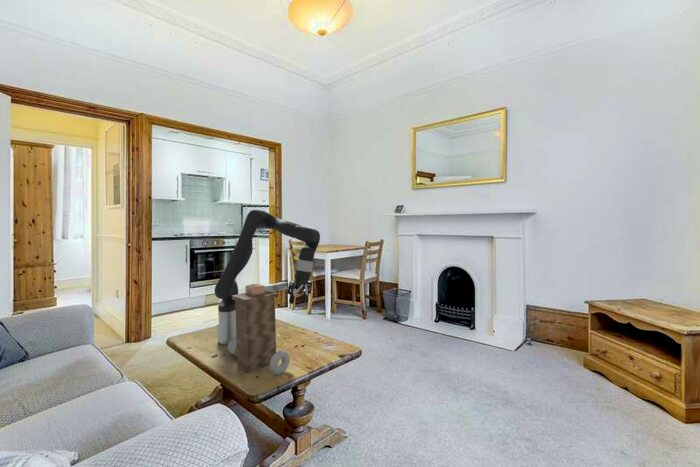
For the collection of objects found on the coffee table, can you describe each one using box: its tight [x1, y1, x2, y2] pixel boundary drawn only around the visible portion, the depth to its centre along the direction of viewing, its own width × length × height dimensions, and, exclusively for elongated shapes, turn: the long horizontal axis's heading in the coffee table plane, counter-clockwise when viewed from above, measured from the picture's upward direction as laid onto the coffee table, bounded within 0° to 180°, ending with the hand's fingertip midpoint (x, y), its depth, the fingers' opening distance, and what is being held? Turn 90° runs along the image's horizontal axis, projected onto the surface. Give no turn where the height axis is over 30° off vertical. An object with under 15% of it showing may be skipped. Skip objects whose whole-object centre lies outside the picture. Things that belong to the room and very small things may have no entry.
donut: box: [269, 349, 291, 376], centre depth 140 cm, size 10×4×10 cm, turn 143°
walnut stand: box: [232, 291, 279, 374], centre depth 149 cm, size 16×12×32 cm
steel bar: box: [244, 281, 289, 297], centre depth 153 cm, size 20×6×4 cm, turn 136°
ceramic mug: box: [227, 338, 237, 358], centre depth 161 cm, size 11×8×8 cm
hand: (297, 303), depth 157 cm, fingers open, 8 cm apart
